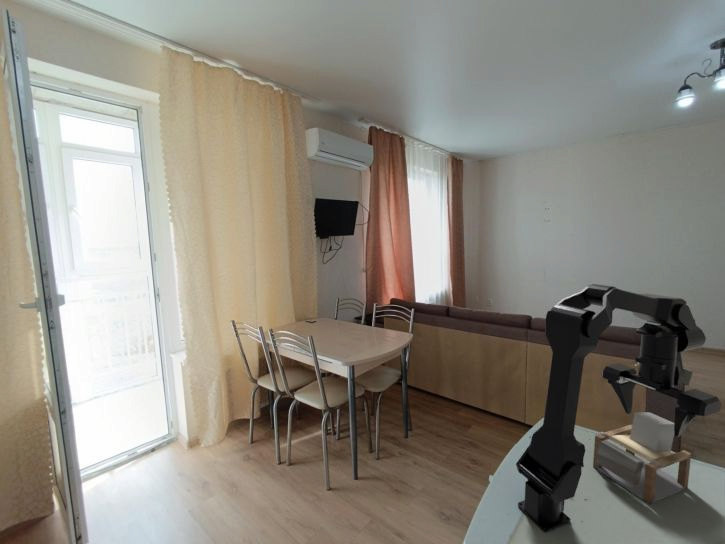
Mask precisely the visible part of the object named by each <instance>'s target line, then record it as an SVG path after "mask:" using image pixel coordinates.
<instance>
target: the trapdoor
mask: <svg viewBox="0 0 725 544" xmlns="http://www.w3.org/2000/svg"><path fill="white" fill-rule="evenodd" d="M608 440H610V441H612V442H614V443H616V444H618V445H619V446H621V447H623V448H624V449H625V450H624V449H622V448H621V447H619V446H618V445H615V444H614V443H612V442H610V441H608ZM608 440H604V441H600V445H599V450H598V455H597V460H596V462H597V463H598V464H600V465H601V466H603V467H605V468H606V469H608V470H609V471H611V472H612V473H614V474H615V475H617V476H619V477H620V478H622V479H623V480H625V481H626V482H628V483H629V484H631V485H638V484H639V481H640V477H641V472H642V467H643V462H644V461H647V462H648V463H650V462H651V461H652V460H655V461H656V460H658V459H661V458H664V457H666V456H669V455H672V454H675V453H676V452H674V451H672V450H671V451H666V452H654V451H652V450H650V449H648V448H646V447H644V446H643V445H641V444H639V443H637V442H635V441H633V440H631V439H630V434H628V435H627V434H624V435H613V436H610V438H609V439H608ZM626 449H628V450H630V451H631V452H633V453H635V456H637V457H639V458H640V457H641V458H640V459H642V460H643V459H644V461H642V460H640V459H638V458H637V457H635V456H633V455H631V454H630V453H628V452H626Z"/></svg>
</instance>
